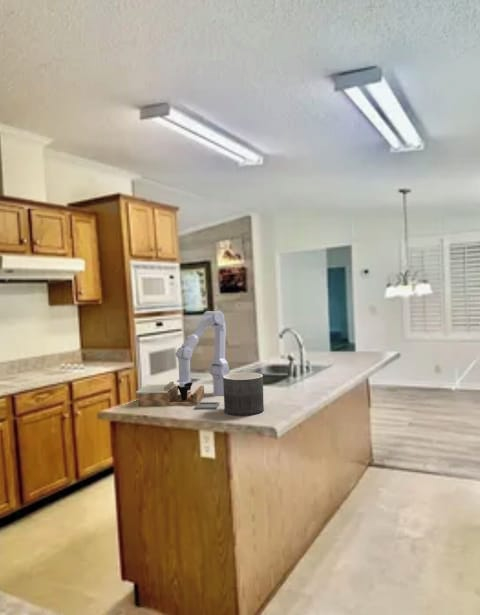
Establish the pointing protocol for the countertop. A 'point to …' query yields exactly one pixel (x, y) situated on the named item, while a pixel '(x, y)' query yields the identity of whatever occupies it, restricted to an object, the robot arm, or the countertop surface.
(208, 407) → the tray
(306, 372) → the countertop surface
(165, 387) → the lid
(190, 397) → the pot
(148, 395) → the cold frame
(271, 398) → the countertop surface
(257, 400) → the planter
